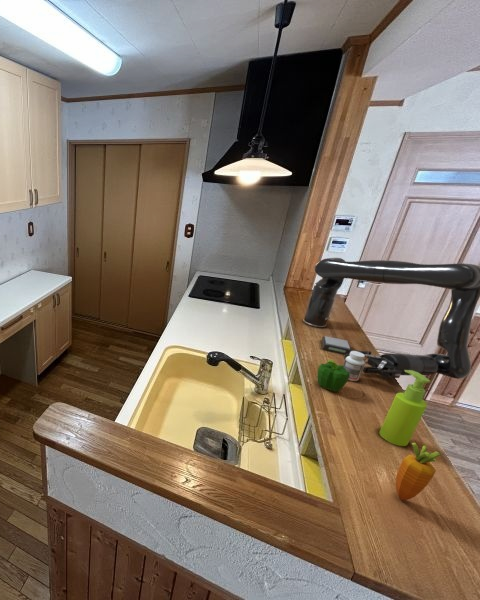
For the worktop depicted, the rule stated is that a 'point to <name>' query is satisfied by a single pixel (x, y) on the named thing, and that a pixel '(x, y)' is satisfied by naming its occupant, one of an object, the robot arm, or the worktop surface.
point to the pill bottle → (354, 365)
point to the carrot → (415, 473)
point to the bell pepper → (332, 376)
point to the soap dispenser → (405, 412)
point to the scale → (336, 345)
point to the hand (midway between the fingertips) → (354, 363)
